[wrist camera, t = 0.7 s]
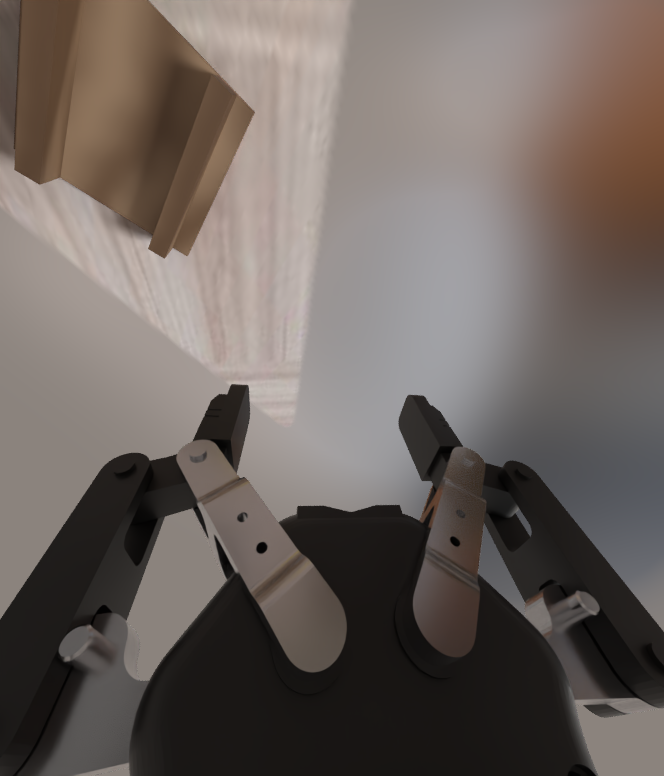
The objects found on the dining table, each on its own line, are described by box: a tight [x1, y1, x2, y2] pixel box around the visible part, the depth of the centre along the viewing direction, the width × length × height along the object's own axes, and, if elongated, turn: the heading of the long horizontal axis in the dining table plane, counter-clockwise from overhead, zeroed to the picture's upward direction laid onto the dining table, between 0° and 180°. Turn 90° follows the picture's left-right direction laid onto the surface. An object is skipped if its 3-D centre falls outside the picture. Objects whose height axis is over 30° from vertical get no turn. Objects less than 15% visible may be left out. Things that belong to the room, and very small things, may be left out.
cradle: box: [14, 0, 255, 259], centre depth 22 cm, size 14×15×4 cm
